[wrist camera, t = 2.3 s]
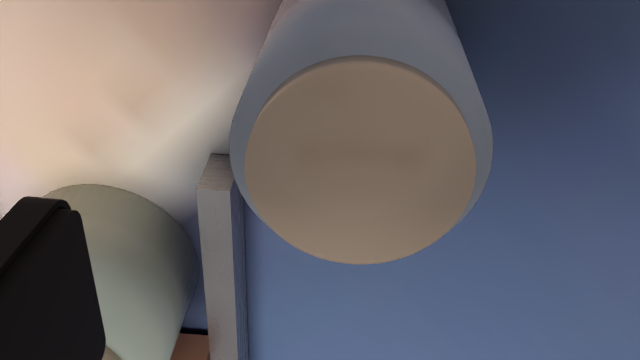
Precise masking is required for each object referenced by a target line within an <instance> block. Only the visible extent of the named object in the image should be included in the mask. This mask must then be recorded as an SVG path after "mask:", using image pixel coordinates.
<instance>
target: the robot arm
mask: <svg viewBox="0 0 640 360" xmlns="http://www.w3.org/2000/svg"><path fill="white" fill-rule="evenodd" d="M105 346H106V337H105V331H104V326H103V321H102V316H101V311H100V306H99V301H98V296H97V291H96V286H95V282H94V277H93V272H92V267H91V262H90V257H89V252H88V247H87V242H86V237H85V232H84V227H83V222H82V218H81V215H80V213H79V212H78V211H76V210H71V207H70V205H69V204H68V202H67V201H65V200H63V199H52V198H41V197H29V196H28V197H23V198H22V199H21V200H19V201H18V202H17V203H16V204H15V205H14V206H13V207H12V208H11V210H10V211H9V212H8V213H7V214H6V215H5V216H4V217H3V218H2V219H1V220H0V360H102V358H103V355H104V352H105Z"/></svg>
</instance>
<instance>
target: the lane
mask: <svg viewBox="0 0 640 360" xmlns="http://www.w3.org/2000/svg"><path fill="white" fill-rule="evenodd" d="M196 196H197V207H198V219H199V231H200V243H201V254H202V266H203V278H204V290H205V301H206V313H207V325H208V337H209V348H210V360H249V353H248V322H247V292H246V261H245V231H244V200H243V196H242V194H241V192H240V190H239V188H238V185H237V183H236V181H235V178H234V174H233V171H232V167H231V161H230V156H229V155H215V154H211V155H210V158H209V160H208V162H207V165H206V167H205V169H204V172H203V174H202V176H201V178H200V181H199V183H198V185H197V188H196Z"/></svg>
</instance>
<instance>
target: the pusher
mask: <svg viewBox="0 0 640 360" xmlns="http://www.w3.org/2000/svg"><path fill="white" fill-rule="evenodd" d="M170 360H210V348H209V337H208V336H207V335H194V334H182V333H179V335H178V338H177V341H176V344H175V347H174V350H173V352H172V355H171V358H170Z"/></svg>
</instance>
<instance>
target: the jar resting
mask: <svg viewBox="0 0 640 360" xmlns="http://www.w3.org/2000/svg"><path fill="white" fill-rule="evenodd" d="M42 198H52V199H63V200H65V201H67V202H68V204H69V205H70V207H71V210H76V211H78V212H79V213H80V215H81V218H82V222H83V227H84V232H85V237H86V242H87V247H88V252H89V257H90V262H91V267H92V272H93V277H94V282H95V286H96V291H97V296H98V301H99V306H100V311H101V316H102V321H103V326H104V331H105V337H106V346H105V352H104V355H103V358H102V360H170V358H171V355H172V352H173V350H174V347H175V344H176V341H177V338H178V335H179V332H180V329H181V327H182V324H183V321H184V318H185V315H186V312H187V309H188V306H189V304H190V301H191V298H192V295H193V292H194V289H195V286H196V284H197V279H198V260H197V255H196V252H195V249H194V247H193V245H192V243H191V241H190V239H189V237H188V236H187V234H186V233H185V231H184V230H183V228H182V227H181V226H180V225H179V224H178V223H177V222H176V221H175V220H174V219H173V218H172V217H171V216H170V215H169V214H168V213H167V212H165V211H164V210H163V209H161V208H160V207H158V206H157V205H155V204H154V203H152V202H150V201H149V200H147V199H145V198H143V197H141V196H139V195H136V194H134V193H131V192H128V191H126V190H123V189H119V188H115V187H110V186H104V185H96V184H82V185H72V186H68V187H63V188H60V189H57V190H55V191H52V192H50V193H48V194H47V195H45V196H43V197H42Z"/></svg>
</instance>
